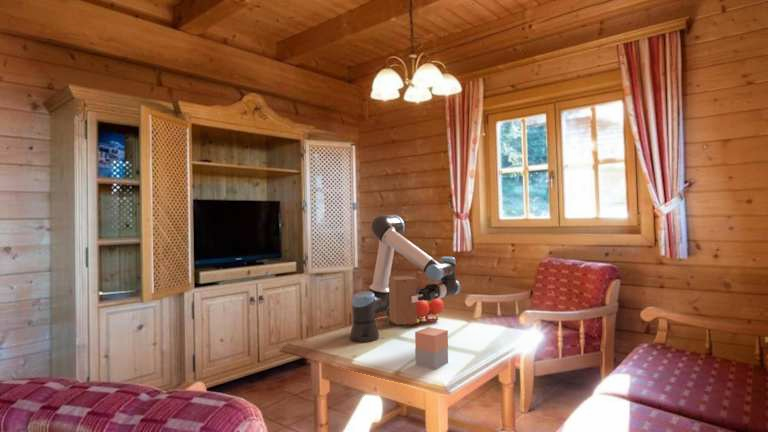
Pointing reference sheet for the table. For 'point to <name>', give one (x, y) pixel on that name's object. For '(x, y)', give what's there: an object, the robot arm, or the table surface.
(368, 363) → the table surface
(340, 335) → the table surface
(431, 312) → the molecule
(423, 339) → the tower top
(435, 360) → the tower base
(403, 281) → the wooden block
